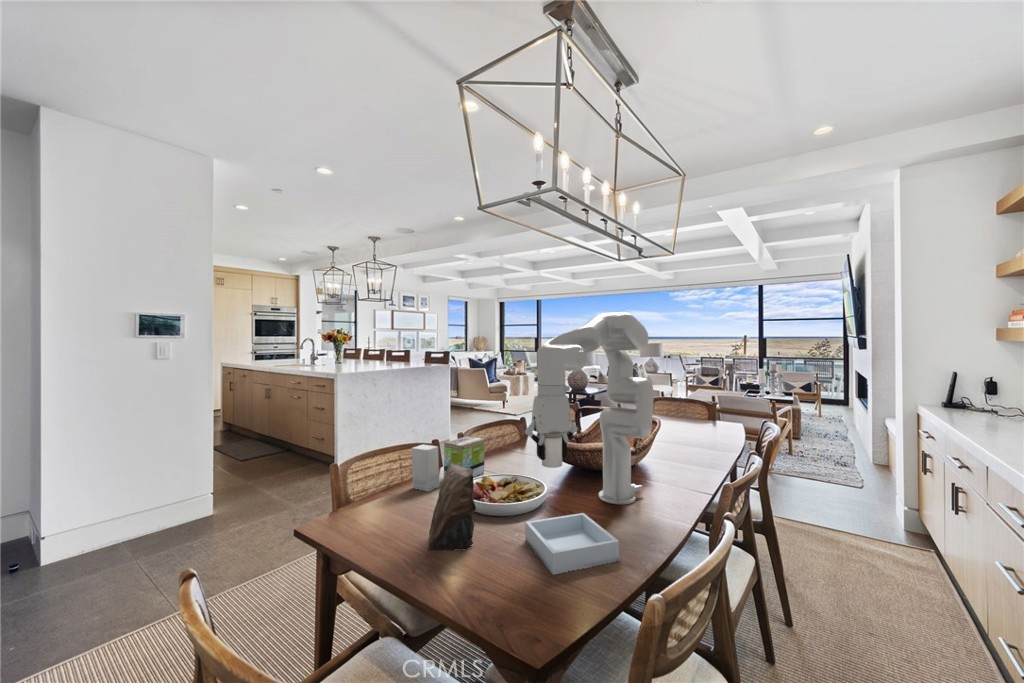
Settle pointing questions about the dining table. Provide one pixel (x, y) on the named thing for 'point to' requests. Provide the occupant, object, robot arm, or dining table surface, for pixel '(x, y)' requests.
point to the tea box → (465, 454)
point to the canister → (553, 450)
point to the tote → (571, 543)
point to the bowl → (507, 494)
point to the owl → (453, 511)
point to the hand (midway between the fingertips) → (552, 457)
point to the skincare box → (425, 467)
